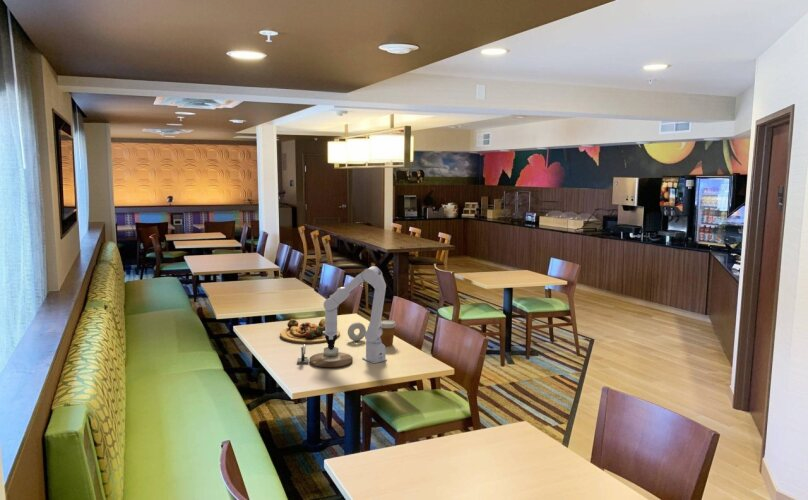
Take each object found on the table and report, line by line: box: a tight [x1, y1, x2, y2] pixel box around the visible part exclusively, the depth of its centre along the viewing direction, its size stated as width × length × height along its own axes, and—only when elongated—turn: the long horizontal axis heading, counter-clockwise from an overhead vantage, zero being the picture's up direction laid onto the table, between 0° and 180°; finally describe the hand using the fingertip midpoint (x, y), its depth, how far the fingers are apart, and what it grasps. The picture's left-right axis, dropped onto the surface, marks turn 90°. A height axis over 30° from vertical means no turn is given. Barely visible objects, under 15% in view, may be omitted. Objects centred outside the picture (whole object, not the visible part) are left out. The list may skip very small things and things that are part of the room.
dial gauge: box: [296, 344, 310, 365], centre depth 271 cm, size 5×5×8 cm
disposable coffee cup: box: [380, 319, 397, 347], centre depth 302 cm, size 10×10×12 cm
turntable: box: [309, 351, 354, 368], centre depth 273 cm, size 20×20×1 cm
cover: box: [323, 346, 339, 357], centre depth 278 cm, size 7×7×3 cm
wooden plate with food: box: [279, 318, 341, 345], centre depth 317 cm, size 32×32×8 cm
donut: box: [347, 321, 367, 342], centre depth 308 cm, size 10×4×10 cm, turn 113°
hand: (331, 350), depth 283 cm, fingers closed
